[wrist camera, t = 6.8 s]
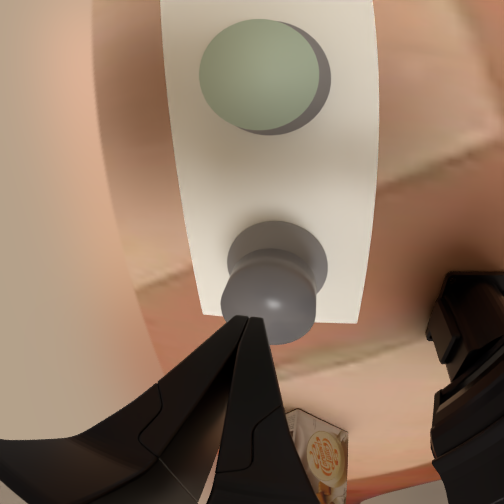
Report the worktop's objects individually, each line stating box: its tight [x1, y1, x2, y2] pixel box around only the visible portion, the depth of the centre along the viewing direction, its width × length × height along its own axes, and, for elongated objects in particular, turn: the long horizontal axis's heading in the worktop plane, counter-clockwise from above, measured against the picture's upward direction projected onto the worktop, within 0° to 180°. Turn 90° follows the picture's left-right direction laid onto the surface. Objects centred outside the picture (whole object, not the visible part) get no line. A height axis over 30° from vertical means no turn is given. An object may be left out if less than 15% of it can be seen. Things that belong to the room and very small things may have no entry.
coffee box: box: [286, 409, 348, 504], centre depth 25 cm, size 9×6×16 cm
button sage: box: [199, 19, 319, 130], centre depth 11 cm, size 4×4×2 cm
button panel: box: [160, 0, 379, 323], centre depth 13 cm, size 10×28×3 cm, turn 4°
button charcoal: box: [220, 248, 317, 345], centre depth 15 cm, size 4×4×2 cm
